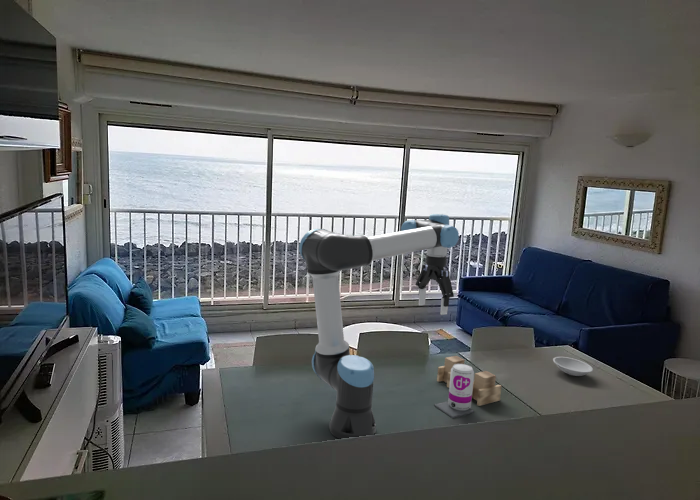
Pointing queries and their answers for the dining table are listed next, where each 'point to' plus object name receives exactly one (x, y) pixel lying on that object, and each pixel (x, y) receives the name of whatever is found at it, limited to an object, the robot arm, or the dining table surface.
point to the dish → (572, 366)
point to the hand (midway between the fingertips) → (432, 309)
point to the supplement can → (461, 387)
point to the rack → (482, 382)
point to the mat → (452, 410)
